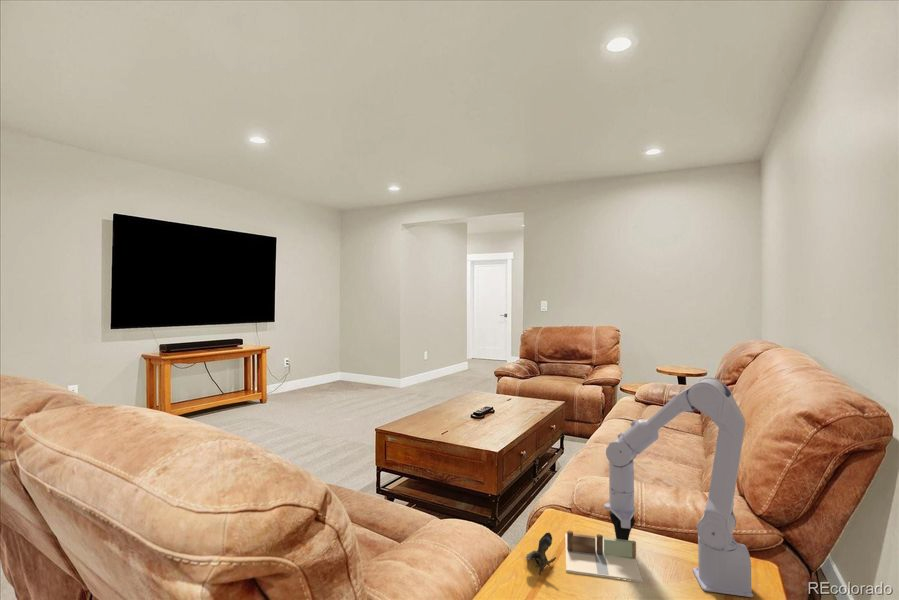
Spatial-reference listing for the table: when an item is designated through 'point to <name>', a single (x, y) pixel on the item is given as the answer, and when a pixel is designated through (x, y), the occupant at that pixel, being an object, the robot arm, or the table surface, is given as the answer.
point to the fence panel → (620, 547)
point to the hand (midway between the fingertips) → (621, 544)
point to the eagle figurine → (542, 553)
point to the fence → (584, 543)
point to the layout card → (602, 565)
